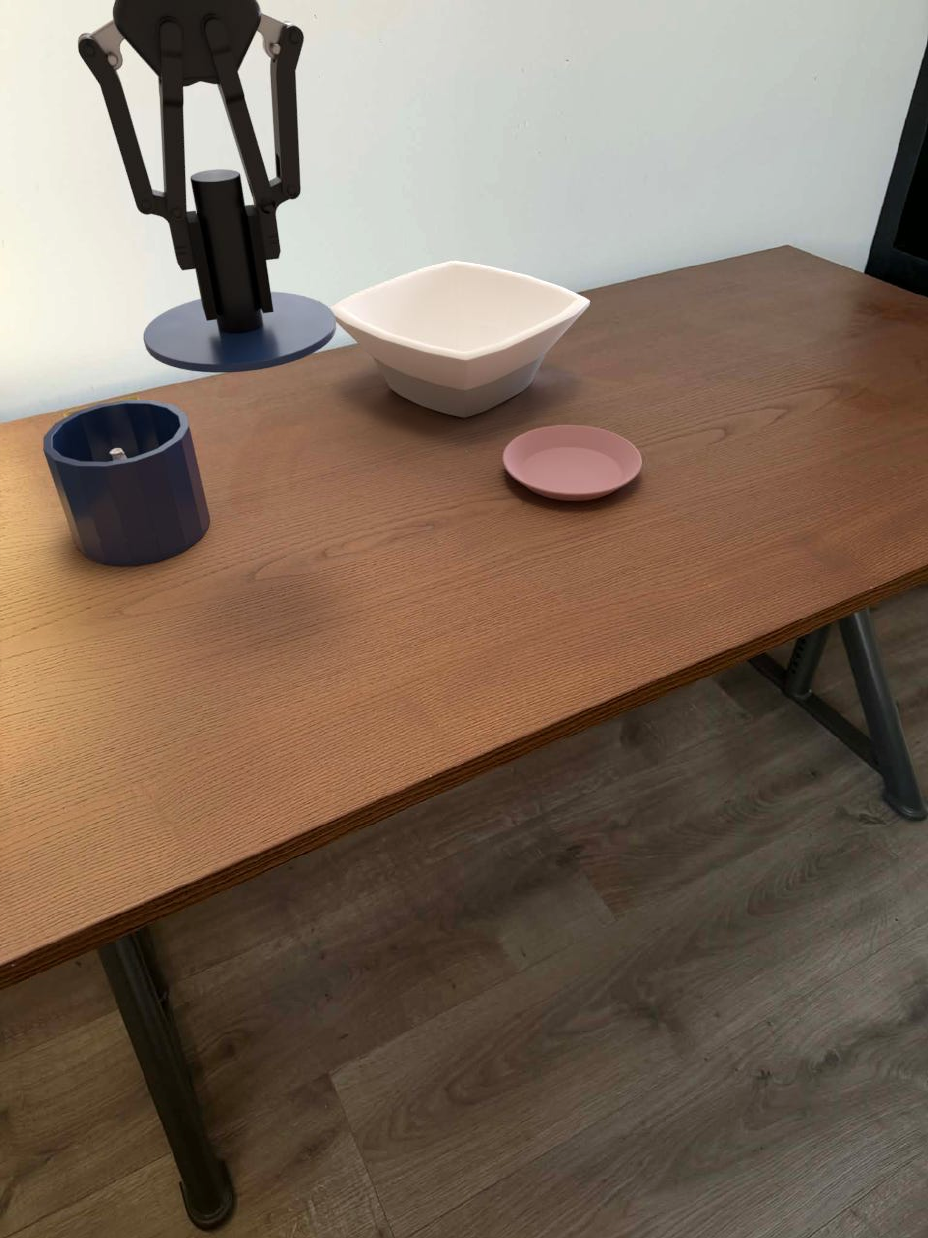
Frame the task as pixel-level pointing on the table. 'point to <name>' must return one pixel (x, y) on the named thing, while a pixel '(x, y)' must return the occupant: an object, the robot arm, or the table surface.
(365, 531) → the table surface
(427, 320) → the bowl
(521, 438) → the plate
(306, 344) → the lid
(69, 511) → the pot
